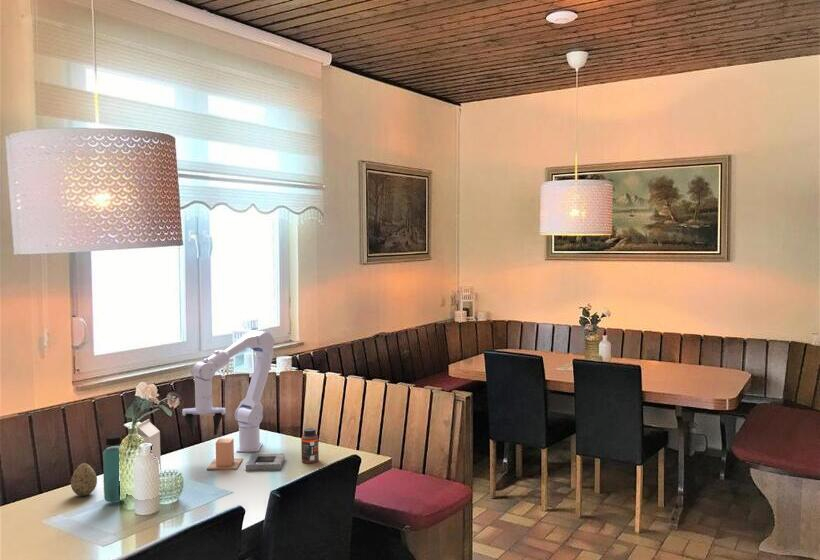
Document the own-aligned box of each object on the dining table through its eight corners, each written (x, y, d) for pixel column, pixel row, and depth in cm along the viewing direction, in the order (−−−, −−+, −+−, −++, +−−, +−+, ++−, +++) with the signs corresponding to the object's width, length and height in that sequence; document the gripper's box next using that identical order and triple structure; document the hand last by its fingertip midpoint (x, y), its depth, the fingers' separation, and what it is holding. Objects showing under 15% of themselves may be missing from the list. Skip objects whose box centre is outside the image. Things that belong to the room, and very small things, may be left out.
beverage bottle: (119, 508, 194) (116, 440, 193) (98, 506, 196) (96, 439, 195) (132, 499, 201) (130, 433, 200) (112, 498, 202) (110, 432, 201)
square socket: (251, 460, 237) (251, 454, 237) (284, 459, 237) (284, 453, 237) (245, 471, 225) (245, 465, 225) (280, 470, 226) (280, 464, 226)
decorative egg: (81, 490, 209) (80, 458, 208) (102, 491, 208) (101, 459, 207) (66, 499, 202) (64, 466, 201) (87, 500, 200) (86, 467, 200)
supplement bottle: (317, 463, 232) (316, 431, 231) (300, 463, 232) (299, 431, 232) (319, 458, 238) (319, 426, 237) (303, 458, 238) (302, 426, 238)
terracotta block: (219, 461, 234) (218, 438, 233) (234, 460, 234) (233, 438, 234) (216, 465, 229) (215, 442, 228) (230, 465, 229) (230, 442, 229)
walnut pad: (213, 460, 236) (213, 459, 236) (242, 460, 237) (242, 458, 237) (207, 470, 226) (206, 468, 226) (236, 469, 227) (236, 467, 227)
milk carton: (161, 475, 221) (159, 418, 220) (150, 483, 214) (149, 424, 213) (140, 475, 222) (138, 418, 221) (129, 482, 215) (127, 424, 214)
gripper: (179, 399, 230) (180, 438, 231) (222, 398, 231) (223, 437, 232) (185, 394, 237) (186, 432, 238) (226, 394, 238) (227, 431, 239)
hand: (204, 434), depth 236 cm, fingers open, 7 cm apart
